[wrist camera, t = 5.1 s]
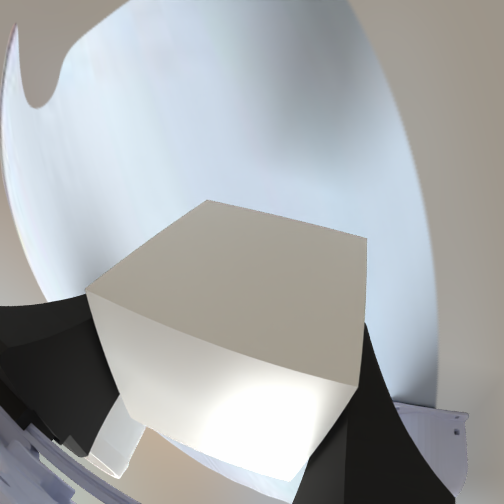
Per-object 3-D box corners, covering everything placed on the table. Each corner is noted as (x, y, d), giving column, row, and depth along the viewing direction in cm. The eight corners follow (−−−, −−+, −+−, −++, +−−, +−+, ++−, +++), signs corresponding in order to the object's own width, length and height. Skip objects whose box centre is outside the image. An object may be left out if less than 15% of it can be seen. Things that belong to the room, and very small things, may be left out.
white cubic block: (366, 238, 10) (357, 387, 5) (325, 355, 13) (289, 481, 8) (207, 199, 11) (85, 289, 6) (204, 317, 14) (130, 417, 9)
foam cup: (112, 345, 33) (46, 415, 22) (175, 386, 32) (115, 469, 21) (115, 381, 38) (64, 441, 27) (167, 415, 37) (121, 483, 26)
